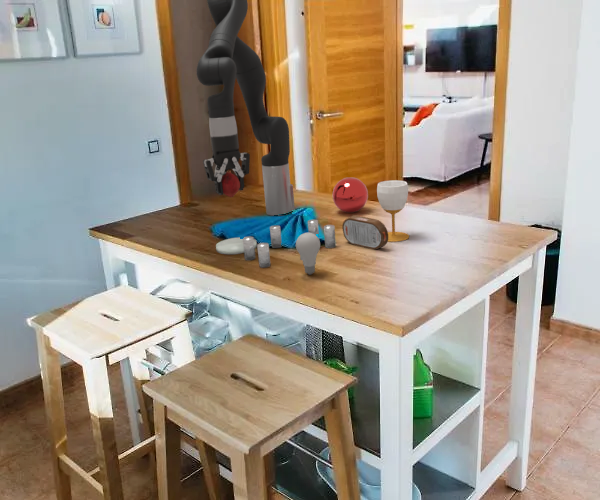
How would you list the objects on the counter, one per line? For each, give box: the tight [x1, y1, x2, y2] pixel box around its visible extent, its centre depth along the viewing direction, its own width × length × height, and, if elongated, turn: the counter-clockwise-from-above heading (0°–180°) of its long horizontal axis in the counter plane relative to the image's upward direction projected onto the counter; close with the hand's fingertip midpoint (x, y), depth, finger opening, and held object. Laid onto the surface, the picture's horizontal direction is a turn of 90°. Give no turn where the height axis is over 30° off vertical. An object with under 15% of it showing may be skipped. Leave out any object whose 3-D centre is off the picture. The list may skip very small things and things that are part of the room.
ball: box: [332, 177, 369, 214], centre depth 203 cm, size 12×12×12 cm
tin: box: [342, 214, 389, 250], centre depth 169 cm, size 15×3×8 cm, turn 44°
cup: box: [376, 179, 410, 243], centre depth 174 cm, size 9×9×16 cm
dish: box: [215, 237, 258, 255], centre depth 177 cm, size 12×12×1 cm
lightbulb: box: [295, 232, 321, 276], centre depth 151 cm, size 6×6×11 cm
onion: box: [221, 169, 240, 198], centre depth 172 cm, size 6×6×8 cm
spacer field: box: [243, 219, 337, 268], centre depth 169 cm, size 25×18×6 cm
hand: (230, 191), depth 172 cm, fingers closed on onion, 6 cm apart
